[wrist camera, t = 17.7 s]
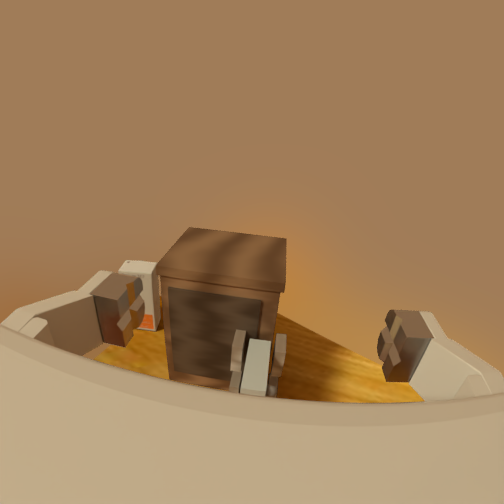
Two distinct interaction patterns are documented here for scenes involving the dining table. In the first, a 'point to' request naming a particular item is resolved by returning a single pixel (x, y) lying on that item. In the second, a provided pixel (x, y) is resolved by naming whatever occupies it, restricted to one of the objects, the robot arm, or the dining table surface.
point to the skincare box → (146, 290)
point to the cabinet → (221, 305)
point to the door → (257, 369)
